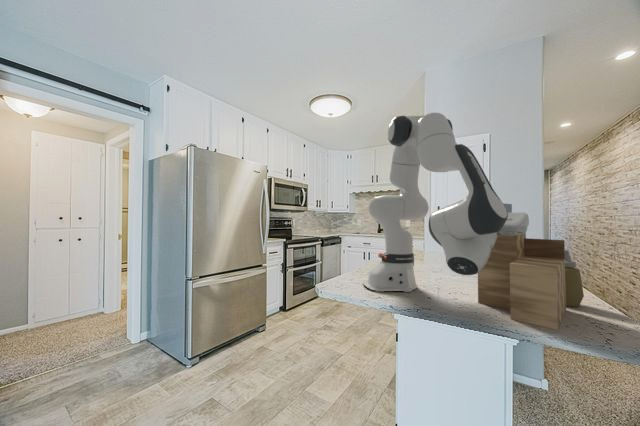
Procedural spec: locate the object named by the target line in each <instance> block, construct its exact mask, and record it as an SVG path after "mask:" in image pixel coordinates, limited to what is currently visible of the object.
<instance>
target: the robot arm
mask: <svg viewBox="0 0 640 426" xmlns="http://www.w3.org/2000/svg"><path fill="white" fill-rule="evenodd" d="M453 131H454V129H453V124H452V122H451V120H450V119H449V118H447V117H446V116H445V115H444V114H443V113H440V112H430V113H427V114H425V115H399V116H395V117H394V118H393V119H391V121H390V122H389V126H388V129H387V137H388V138H387V139H388V142H389V143H390V145H392V146H394V150H393V153H392V159H391V164H390V165H391V166H390V173H389V181H390V183H391V185H393V186H394V187H396V188H397V189H399V194H396V195H395V194H392V195H391V194H388V195H387V194H384V195H379V196H373V197H372V199H371V200H370V201H369V204H368V211H369V214H370V217H372V219H374V220H375V221H376V222H377V223H378V224H379V225H380V227H381V229H382V231H383V234H384V241H385V252H384V253H381V252H378V254H377V257H378V258H380V259H381V261H380V262H379V263H377V264H376V265H375V266H374V267H372V268H371V269H370V270H369V272H368V277H367V280H363V283H362V285H363V284H364V285H365V286H366V287H367V288H369V289H371V290H377V291H376V292H384V291H404V292H403V293H411V292H412V291H413V290H416V289H417V288H418V285H417V282H416V281H417V280H416V277H415V271H414V270H415V269H414V268H415V267H414V266H415V253H414V252H413V245H414V244H413V241H414V240H413V235H412V234H411V232H410V231H409V230H407V229H404V228H403V227H402V226H401V225H402V224H401V221H416V220H417V221H418V220H421V219H425V217H426V216H427V214H428V213H429V202H428V201H427V199H426V198H425V197H424V196H423V195H422V193H421V191H420V189H419V183H418V182H419V175H420V174H419V173H420V167H423V169H425V170H427V171H430V172H432V173H449V172H453V171H455V172H456V171H459V174H460V176H461V178H462V180H463V183H464V184H465V186H466V189H467V190H468V194H467V196H466V197H464V199H461V200H459V201H457V202H454V203H453V204H449V205H446V206H444V207H441V208H440V209H437V210H435V211H433V212H432V213H431V214H430V216H429V218H428V232H429V234H430V236H431V237H432V239H433V240H434V241H435V242H436V243H437V244H438V245H439V246H440V247H442V250H443V251H444V254H445V263H446V265H447V266H448V268H449V269H450V270H451V271H452V272H453V273H456V274H459V275H461V276H474V275H478V272H480V271H481V270H482V269H483V267H484V266H485V264H486V263H487V261H488V259H489V256H490V254H491V249H492V248H493V247H494V245H495V243H496V240H497V238H498V235H504V236H519V235H521V234H525V233H527V231H528V227H529V226H530V225H529V224H530V219H529V215H528V214H527V213H526V212H512V213H507V210H506V208H505V206H504V204H503V201H502V200H501V198H500V197H499V196H498V194H497V193H496V191H495V190H494V189H493V187H492V186H493V185H492V184H491V182H490V180H489V179H488V177H487V175H486V173H485V171H484V170H483V168H482V166H481V164H480V162H479V161H478V159H477V157H476V156H475V154H474V153H473V152H472V150H471V149H470V148H469V147H467V146H466V144H465V145H464V144H463V143H460V144H459V143H457V141H456V137H455V134H454V132H453ZM365 282H366V283H365ZM367 288H366V289H367ZM371 290H370V291H371Z"/></svg>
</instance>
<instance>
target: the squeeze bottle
mask: <svg viewBox="0 0 640 426" xmlns="http://www.w3.org/2000/svg"><path fill="white" fill-rule="evenodd" d="M576 266H577V262H575V261H572V259H571V255H570V251H569V250H567V249H566V250H565V292H566V307H572V308H573V307H575V308H577V307H580V305H581V304H582V302H583V299H584V296H585V295H584V289H583V283H582V276H581V271H580V269H578V268H576Z"/></svg>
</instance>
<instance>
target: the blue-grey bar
mask: <svg viewBox="0 0 640 426" xmlns="http://www.w3.org/2000/svg"><path fill="white" fill-rule="evenodd" d="M502 203H503V202H502ZM503 204H504V206H505V208H506V210H507V213H513V204H512V203H503Z"/></svg>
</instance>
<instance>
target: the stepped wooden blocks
mask: <svg viewBox="0 0 640 426" xmlns="http://www.w3.org/2000/svg"><path fill="white" fill-rule="evenodd" d="M526 233H527V232H526ZM526 233H525V234H521V235H519V236H504V235H498V238H497V240H496V243H495V245H494V247H493V248H492V249H491V254H490V256H489V259H488V261H487V263H486V264H485V266H484V267H483V269H482V270H481V271H480V272H478V273H477V296H478V297H477V303H478V304H483V305H488V306H491V307H493V306H494V307H497V308H502V309H507V310H509V311H510V320H514V321H518V322H522V323H525V324H530V325H534V326H539V327H542V328H547V329H552V330H556V331H558V329H559V328H560V325H561V323H562V320H563V318H564V315H565V313H566V311H567V309H566V308H567V306H566V292H565V240H564V239H545V238H543V239H542V238H527V234H526Z"/></svg>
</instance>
